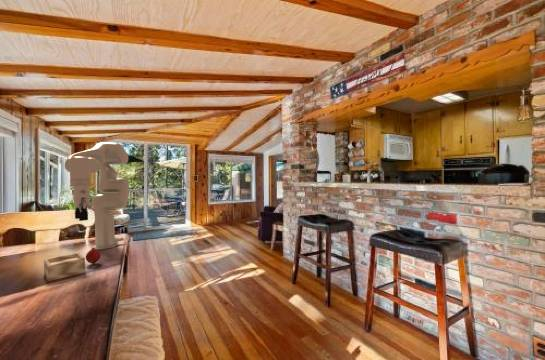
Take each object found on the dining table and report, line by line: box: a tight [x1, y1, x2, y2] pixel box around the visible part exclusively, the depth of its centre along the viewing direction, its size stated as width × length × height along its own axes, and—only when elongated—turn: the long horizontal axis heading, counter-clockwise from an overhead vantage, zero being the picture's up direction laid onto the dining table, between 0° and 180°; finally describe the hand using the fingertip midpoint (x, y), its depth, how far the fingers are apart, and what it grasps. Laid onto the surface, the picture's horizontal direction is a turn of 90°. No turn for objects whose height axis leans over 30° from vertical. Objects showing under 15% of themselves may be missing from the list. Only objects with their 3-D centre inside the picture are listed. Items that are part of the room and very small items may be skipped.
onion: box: [85, 247, 102, 265], centre depth 117 cm, size 6×6×8 cm
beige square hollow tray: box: [43, 252, 86, 282], centre depth 106 cm, size 12×12×6 cm
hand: (81, 219), depth 116 cm, fingers open, 9 cm apart
